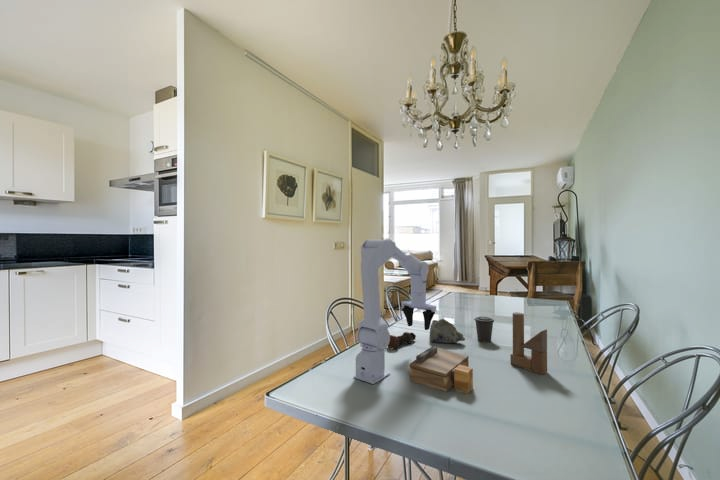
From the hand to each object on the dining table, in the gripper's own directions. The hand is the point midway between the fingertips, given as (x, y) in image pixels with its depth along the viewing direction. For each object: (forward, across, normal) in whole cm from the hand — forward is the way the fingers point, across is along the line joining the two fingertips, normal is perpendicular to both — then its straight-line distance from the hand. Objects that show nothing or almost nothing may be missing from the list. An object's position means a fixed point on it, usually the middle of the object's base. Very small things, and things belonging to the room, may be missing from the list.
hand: (418, 327), depth 120 cm
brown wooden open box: (+10, -16, +12) cm, 22 cm away
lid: (+8, -16, +12) cm, 22 cm away
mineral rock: (+10, -1, -19) cm, 21 cm away
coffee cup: (+10, -12, -33) cm, 36 cm away
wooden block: (+10, -35, -14) cm, 39 cm away
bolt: (+10, +11, -5) cm, 16 cm away
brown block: (+10, -26, +15) cm, 31 cm away
